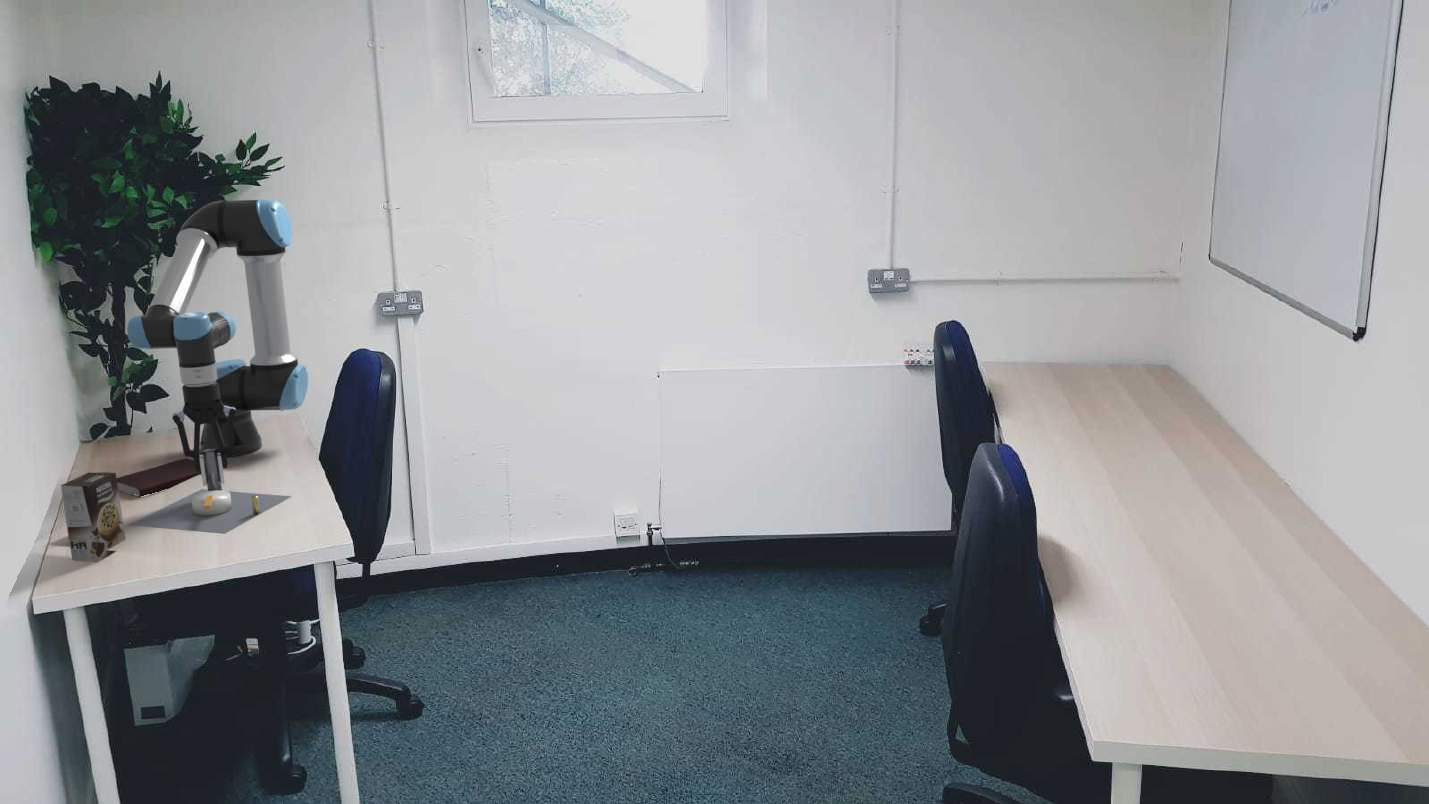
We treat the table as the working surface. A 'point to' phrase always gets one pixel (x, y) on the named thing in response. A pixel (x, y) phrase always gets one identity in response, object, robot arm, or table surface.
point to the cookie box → (93, 515)
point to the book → (158, 477)
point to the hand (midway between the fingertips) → (213, 482)
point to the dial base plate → (185, 519)
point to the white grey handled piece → (211, 489)
